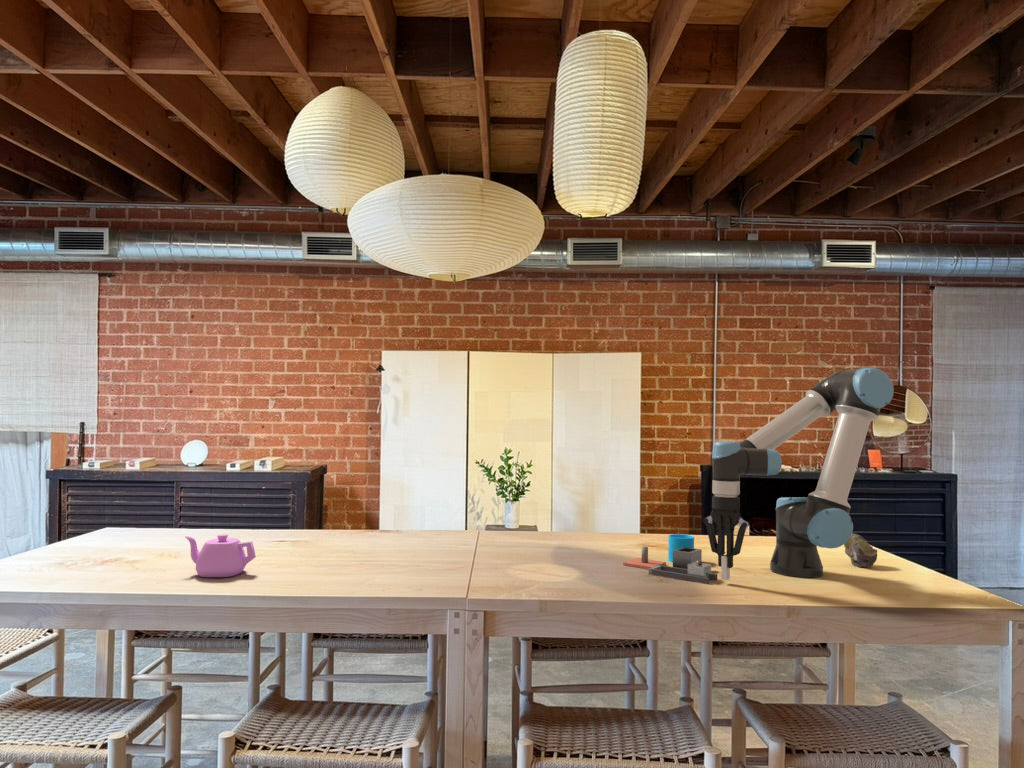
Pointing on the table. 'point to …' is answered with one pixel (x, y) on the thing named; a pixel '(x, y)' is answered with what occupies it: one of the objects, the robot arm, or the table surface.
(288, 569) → the table surface
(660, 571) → the track
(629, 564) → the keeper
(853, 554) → the rock
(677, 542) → the mug
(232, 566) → the teapot
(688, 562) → the grey hollow block
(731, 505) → the robot arm
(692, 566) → the grey knobbed block
